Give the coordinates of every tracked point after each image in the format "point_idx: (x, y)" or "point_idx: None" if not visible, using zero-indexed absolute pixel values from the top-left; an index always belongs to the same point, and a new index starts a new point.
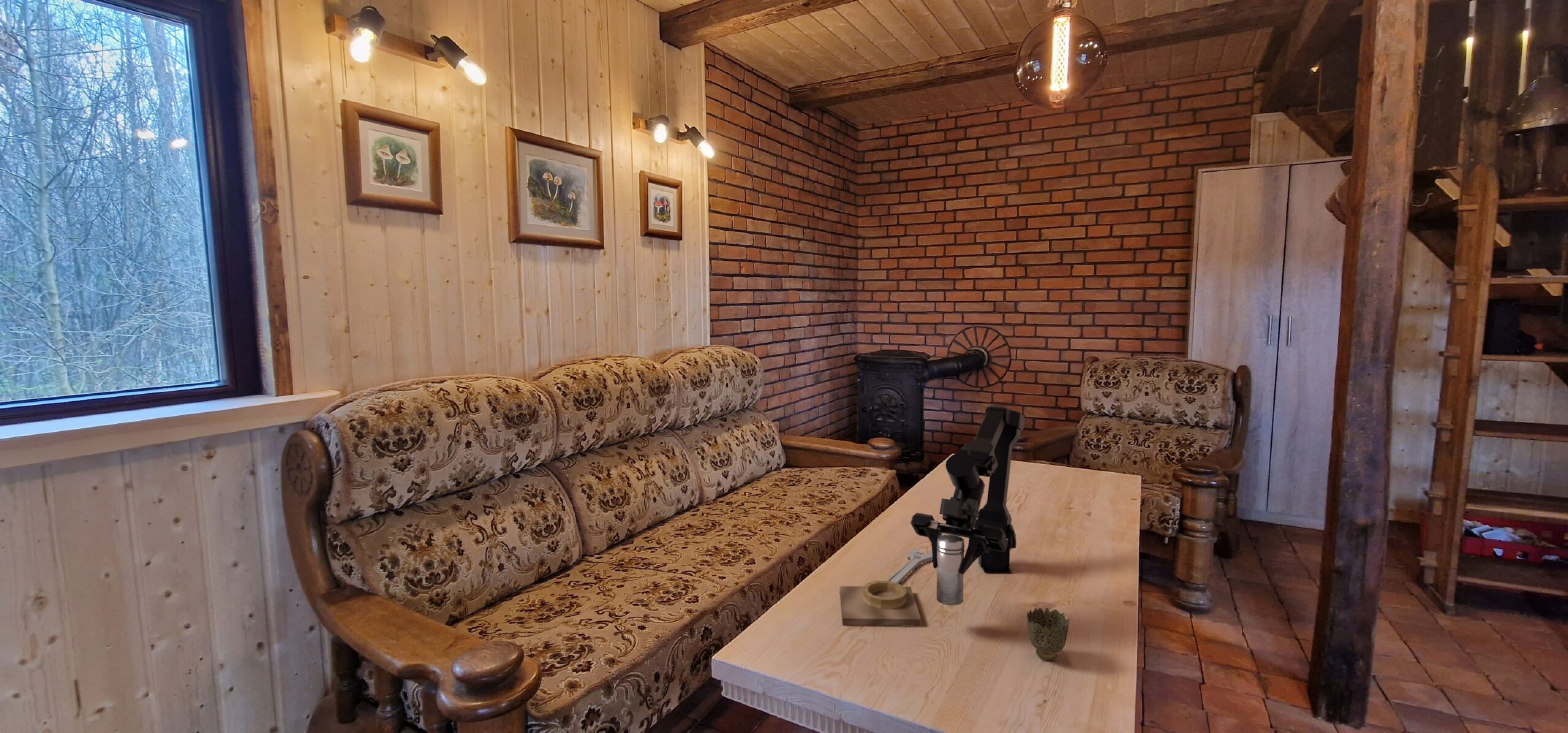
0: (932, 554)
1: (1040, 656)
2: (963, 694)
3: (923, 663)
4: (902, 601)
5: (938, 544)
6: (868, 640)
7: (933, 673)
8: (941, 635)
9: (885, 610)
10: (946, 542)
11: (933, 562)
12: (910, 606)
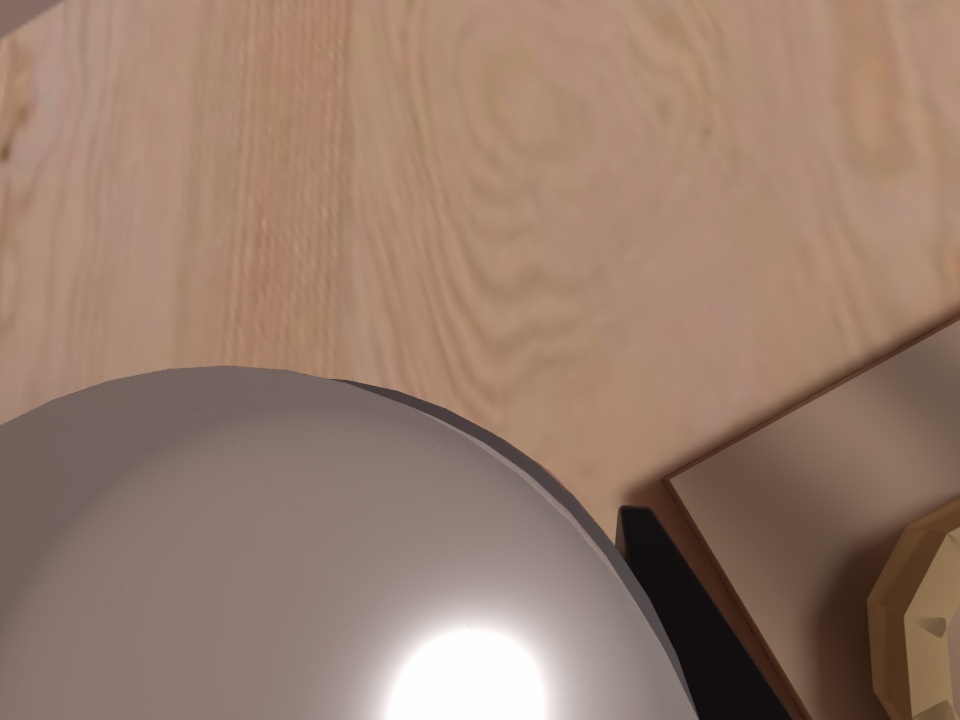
0: (741, 646)
1: None
2: (288, 21)
3: (508, 135)
4: (883, 613)
5: (575, 521)
6: (852, 178)
7: (441, 87)
8: (520, 437)
9: (936, 475)
10: (254, 513)
11: (660, 536)
12: (811, 625)
